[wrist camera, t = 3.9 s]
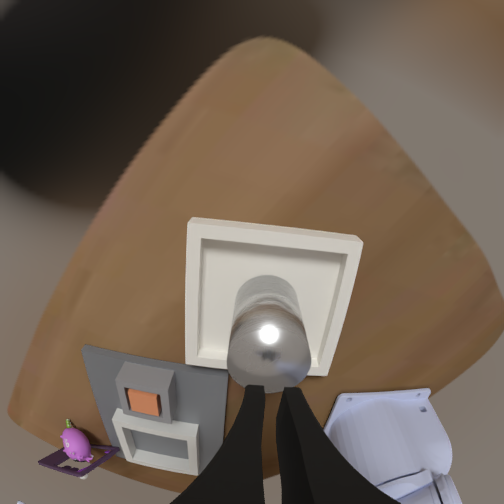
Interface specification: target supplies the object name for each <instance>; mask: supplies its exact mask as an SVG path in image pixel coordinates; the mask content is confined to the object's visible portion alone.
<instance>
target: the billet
mask: <svg viewBox="0 0 504 504" xmlns="http://www.w3.org/2000/svg"><path fill="white" fill-rule="evenodd" d="M311 360H312V358H311V353H310V348H309V344H308V340H307V335H306V331H305V327H304V323H303V318H302V314H301V310H300V306H299V302H298V298H297V294H296V292H295V290H294V288H293V287H292V285H291V284H290V283H288V282H287V281H286V280H284V279H282V278H280V277H277V276H273V275H261V276H256V277H253V278H251V279H249V280H248V281H246V282H245V283H244V284H243V285H242V286H241V287H240V289H239V290H238V292H237V294H236V298H235V304H234V311H233V319H232V326H231V333H230V340H229V347H228V354H227V369H228V372H229V374H230V375H231V377H232V378H233V380H234V381H236V382H237V383H238V384H239V385H240V386H242V387H244V388H245V387H246V386H247V385H249V384H250V385H263V386H264V390H265V393H276V392H281V391H283V390H284V387H294V386H295V385H297V384H298V383H300V382H301V381H302V380H303V379H304V378H305V377H306V375H307V374H308V372H309V370H310V367H311Z"/></svg>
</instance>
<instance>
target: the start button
mask: <svg viewBox="0 0 504 504" xmlns="http://www.w3.org/2000/svg"><path fill="white" fill-rule="evenodd" d="M128 395H129V400H130V404H131V409H132V411H137V412H141V413H146V414H150V415H155V416H159V414H160V411H161V408H162V405H161V397H160V395H159V394H154V393H149V392H144V391H139V390H134V389H130V388H129V390H128Z"/></svg>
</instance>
